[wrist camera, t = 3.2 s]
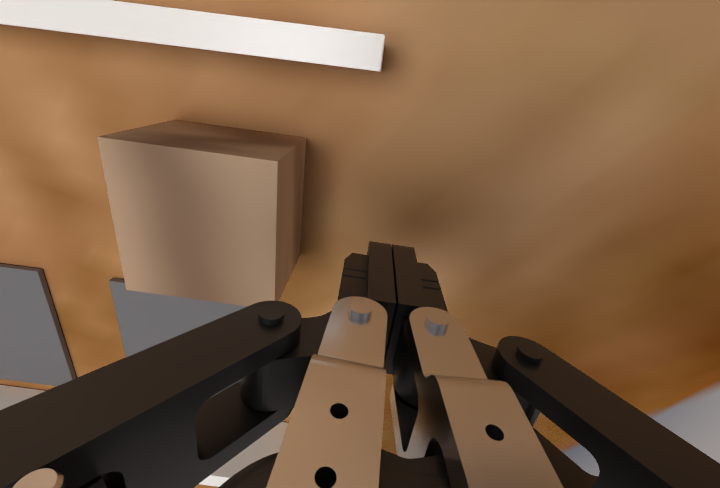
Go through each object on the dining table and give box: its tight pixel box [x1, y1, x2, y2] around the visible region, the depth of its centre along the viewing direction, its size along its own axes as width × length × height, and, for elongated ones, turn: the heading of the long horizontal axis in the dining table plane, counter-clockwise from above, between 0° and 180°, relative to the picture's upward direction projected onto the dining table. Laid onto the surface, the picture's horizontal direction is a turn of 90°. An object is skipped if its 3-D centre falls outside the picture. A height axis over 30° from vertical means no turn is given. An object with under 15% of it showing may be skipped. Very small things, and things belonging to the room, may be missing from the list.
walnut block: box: [97, 120, 306, 306], centre depth 15 cm, size 6×6×5 cm
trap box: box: [0, 0, 385, 487], centre depth 18 cm, size 30×24×5 cm
